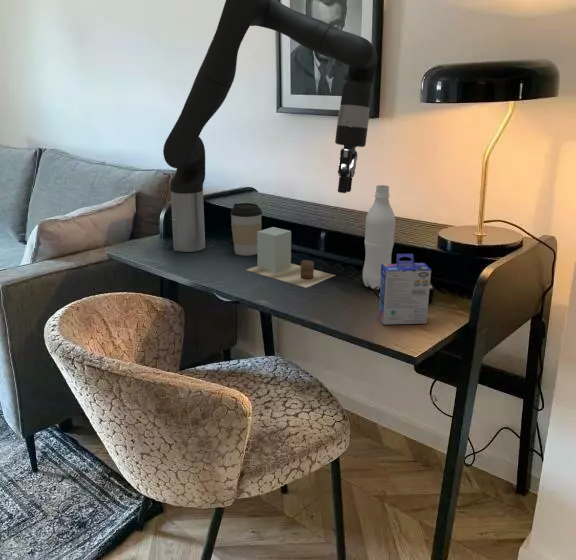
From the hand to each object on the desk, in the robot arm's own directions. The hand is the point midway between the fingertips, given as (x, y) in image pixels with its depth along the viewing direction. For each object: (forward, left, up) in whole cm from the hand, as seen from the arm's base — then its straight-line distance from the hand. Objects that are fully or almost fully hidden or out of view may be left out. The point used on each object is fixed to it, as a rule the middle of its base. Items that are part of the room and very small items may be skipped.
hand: (344, 192), depth 152 cm
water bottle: (+7, -10, -22) cm, 25 cm away
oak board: (-13, 0, -22) cm, 26 cm away
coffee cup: (-22, +20, -22) cm, 37 cm away
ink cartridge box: (+6, -31, -22) cm, 38 cm away
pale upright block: (-17, +4, -21) cm, 27 cm away
